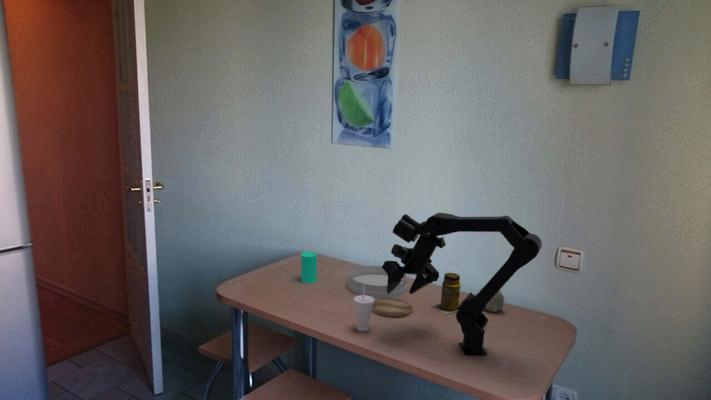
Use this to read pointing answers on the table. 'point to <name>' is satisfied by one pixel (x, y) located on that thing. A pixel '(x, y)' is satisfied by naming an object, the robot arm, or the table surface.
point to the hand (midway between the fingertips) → (399, 293)
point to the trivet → (391, 308)
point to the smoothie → (363, 310)
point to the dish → (374, 282)
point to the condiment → (449, 294)
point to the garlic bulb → (495, 302)
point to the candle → (308, 267)
